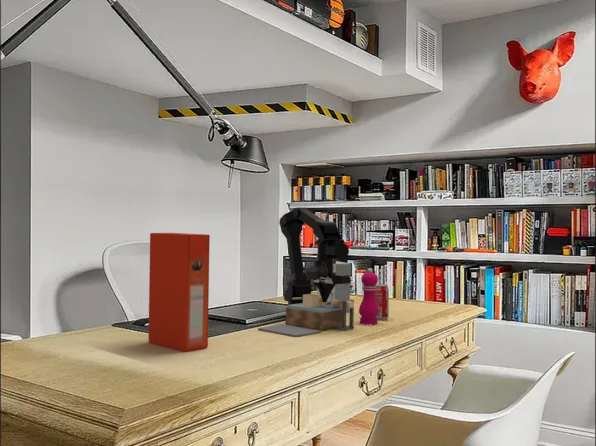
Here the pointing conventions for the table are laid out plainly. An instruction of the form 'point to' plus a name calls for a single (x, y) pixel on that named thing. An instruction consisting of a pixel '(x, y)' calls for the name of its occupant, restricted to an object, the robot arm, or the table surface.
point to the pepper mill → (369, 299)
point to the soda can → (382, 301)
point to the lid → (313, 305)
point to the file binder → (179, 290)
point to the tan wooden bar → (339, 303)
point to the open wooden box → (320, 319)
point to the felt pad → (289, 330)
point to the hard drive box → (339, 285)
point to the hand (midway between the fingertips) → (324, 302)
